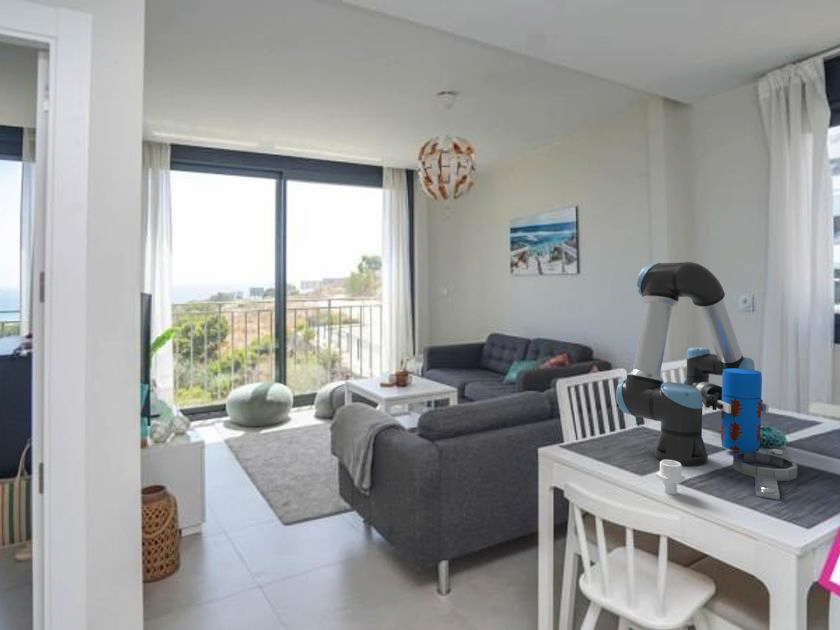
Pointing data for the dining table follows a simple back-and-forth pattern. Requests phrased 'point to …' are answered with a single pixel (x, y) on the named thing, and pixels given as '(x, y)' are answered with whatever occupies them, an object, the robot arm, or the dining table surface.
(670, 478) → the pipe fitting
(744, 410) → the thermos
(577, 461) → the dining table surface
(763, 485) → the grey handled tray
